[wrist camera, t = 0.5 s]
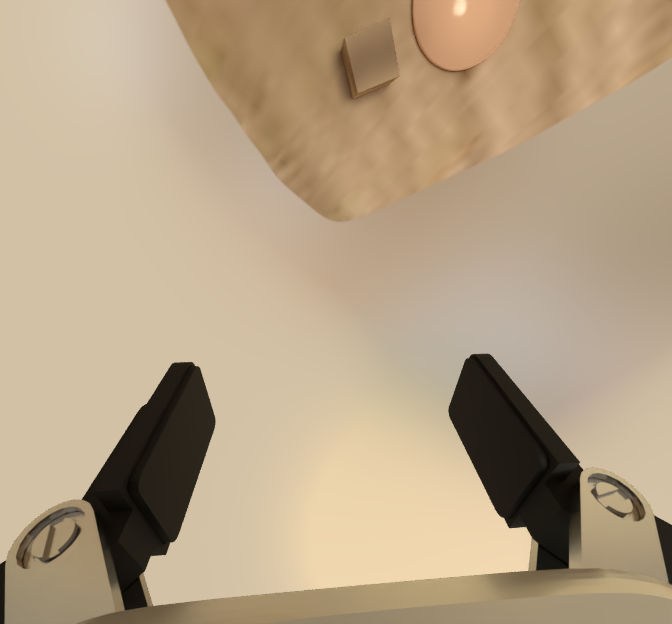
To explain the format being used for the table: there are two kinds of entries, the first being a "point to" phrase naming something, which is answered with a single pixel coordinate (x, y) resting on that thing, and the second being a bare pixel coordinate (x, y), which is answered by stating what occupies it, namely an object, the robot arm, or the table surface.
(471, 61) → the coaster
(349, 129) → the table surface
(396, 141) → the table surface
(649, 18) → the table surface
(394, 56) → the walnut block
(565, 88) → the table surface
